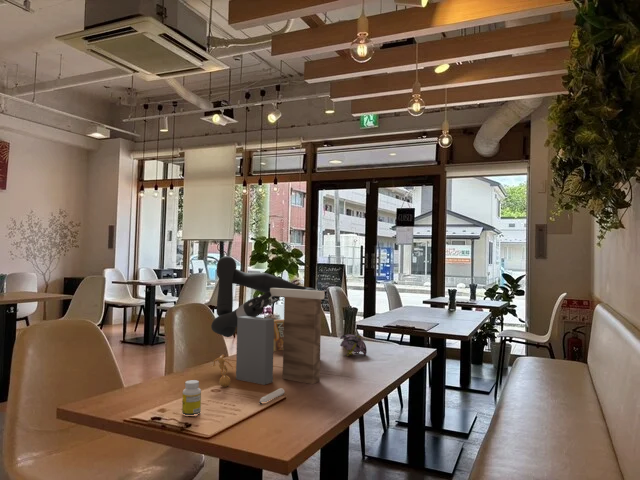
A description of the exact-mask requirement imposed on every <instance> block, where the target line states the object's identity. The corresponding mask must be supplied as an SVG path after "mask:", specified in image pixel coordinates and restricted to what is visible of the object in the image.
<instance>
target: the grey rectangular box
mask: <svg viewBox="0 0 640 480" xmlns="http://www.w3.org/2000/svg"><path fill="white" fill-rule="evenodd" d="M274 320H275V319H274V318H271V317H270V318H268V317H261V316H260V317H259V316H257V317H251V316H242V317H238V319H237V327H236V360H235V362H236V364H235V366H236V367H235V380H238V381H244V382H248V383H254V384H258V385H265V386H266V385H268V384H271V383H273V382H274V380H273V379H274V378H273V377H274V351H273V347H274Z"/></svg>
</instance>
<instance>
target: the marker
mask: <svg viewBox="0 0 640 480" xmlns="http://www.w3.org/2000/svg"><path fill="white" fill-rule="evenodd" d="M284 394H285V390H284V388H282V387H280V388H277V389H276V390H274V391H271V392H270V393H268V394H265V395H264V396H262V397H260V399H259V402H258V403H261V402H267V401H269V400H271V399H273V398H275V397H277V398H279V397H281V396H282V395H284ZM278 396H279V397H278ZM275 399H276V398H275ZM273 400H274V399H273Z"/></svg>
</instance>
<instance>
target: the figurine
mask: <svg viewBox="0 0 640 480" xmlns="http://www.w3.org/2000/svg"><path fill="white" fill-rule="evenodd" d="M217 361H218V364H219V365H218V367H219V369H221V370H220V375H221V377H220V378H219V385H220V386H221V387H223V388H226V387H228V386H229V385H230V384H231V378H230V377H229V376H228V375H227V374H226V373H227V371H228V368H227V366H226V364H225V363H227V364H228V365H229V366H230V368H231V369H232V370H234V367H233V366H232V364H231V363H230V361H228V360H226V359H225V354H221V355H220V356H219V357H217V358H215V359H214V360H213V367H216V364H215V363H216V362H217ZM223 371H224V372H223ZM223 373H224V374H223Z"/></svg>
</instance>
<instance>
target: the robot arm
mask: <svg viewBox="0 0 640 480" xmlns="http://www.w3.org/2000/svg"><path fill="white" fill-rule="evenodd" d="M216 275H217V278H218V289H217V299H216V315H218V316H217V317H215V318H214V319H213V321H212V323H211V330H212V332H213V333H215V334H218V335H220V336H223V337H226V338H231V337H232V336H234V334H235V332H236V331H237V319H238V317H242V316H251V317H259V316H260V315H262V313H264V308H266V307H267V308H268V306H269V307H270V306H272V305H274V304H275V303H277V302H279V301H281V298H283V297H282V296H272V295H271V292H270V288H284V289H300V290H316V291H318V290H317V289H315V288H313V287H309V286H308V287H307V286H304V285H299V284H295V283H293V282H291V281H288V280H286V279H284V278H281V277H279V276H276V275H273V274H271V273H267V272H253V273H249V272H244V271H241V270H239V269H238V268H237V262H236V261H235V259H234V258H233V257H231V256H229V255H228V256H227V255H225V256H222V257H221V258H218V261H217V262H216ZM233 284H235V285H238V286H243V287H245V288H249V289H251V290H255V291H258V292H261V293H263V294H260V295H259V296H258V295H257V296H255V297H252V298H250V299H248V300H247V301H245V302H244V303H242V304H241V305H240V306H239V307H237V308H236V309H234V310H233V308H234V295H233V293H234V290H233V289H234V287H233Z"/></svg>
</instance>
